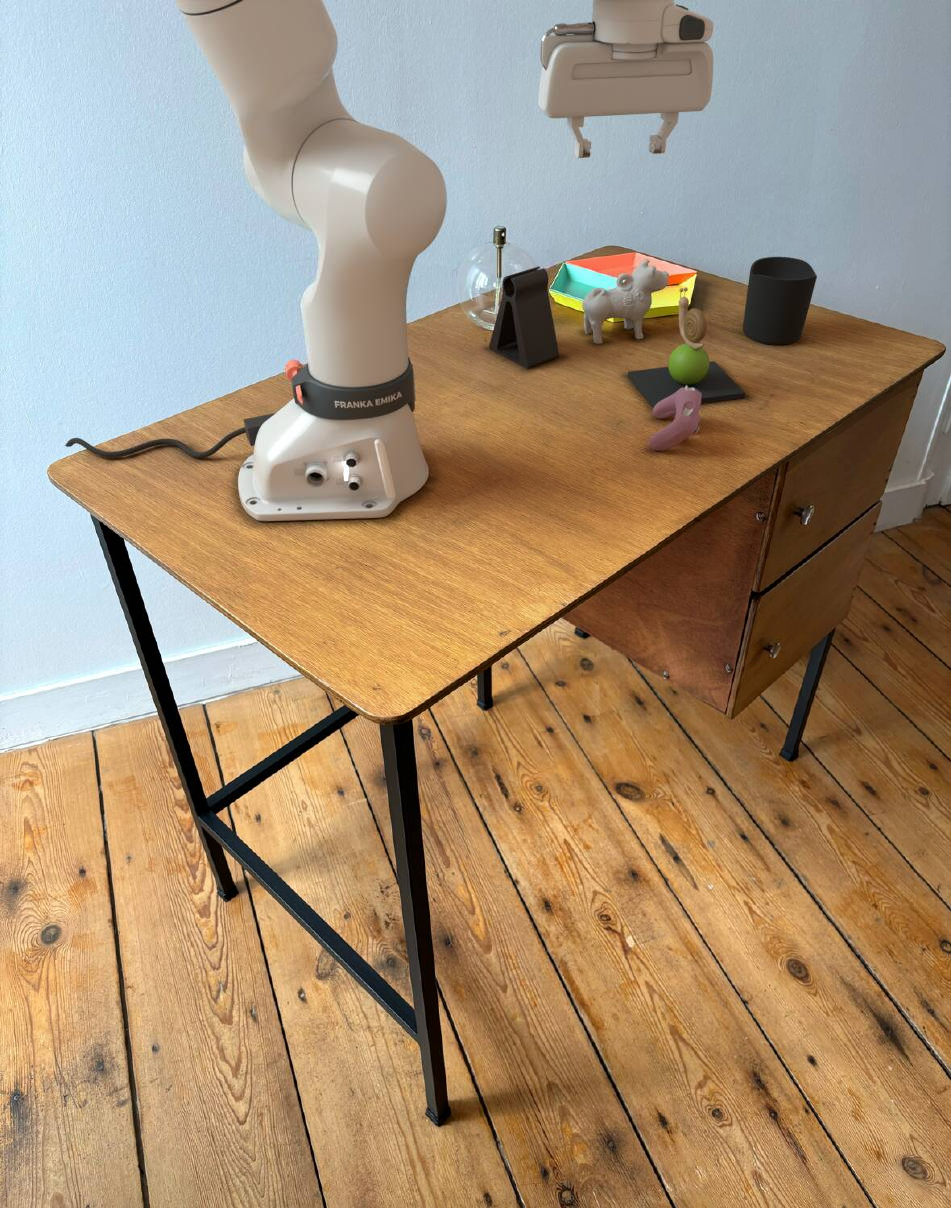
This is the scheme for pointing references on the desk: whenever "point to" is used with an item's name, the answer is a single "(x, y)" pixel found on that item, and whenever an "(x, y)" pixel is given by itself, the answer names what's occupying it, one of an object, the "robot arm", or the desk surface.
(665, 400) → the video game controller
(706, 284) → the desk surface
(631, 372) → the mat
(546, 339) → the phone stand
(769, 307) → the pen holder
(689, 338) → the snail figurine
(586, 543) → the desk surface
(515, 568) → the desk surface
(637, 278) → the dog figurine
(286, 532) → the desk surface
